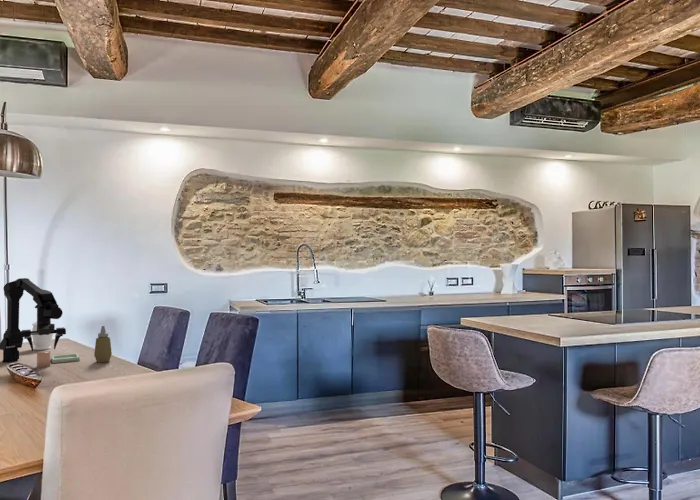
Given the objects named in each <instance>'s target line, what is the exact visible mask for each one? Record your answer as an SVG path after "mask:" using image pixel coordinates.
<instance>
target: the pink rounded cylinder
mask: <svg viewBox="0 0 700 500" xmlns="http://www.w3.org/2000/svg"><path fill="white" fill-rule="evenodd" d="M50 367H51V350H40V351H37V352H36V368H38V369H45V368H50Z"/></svg>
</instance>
